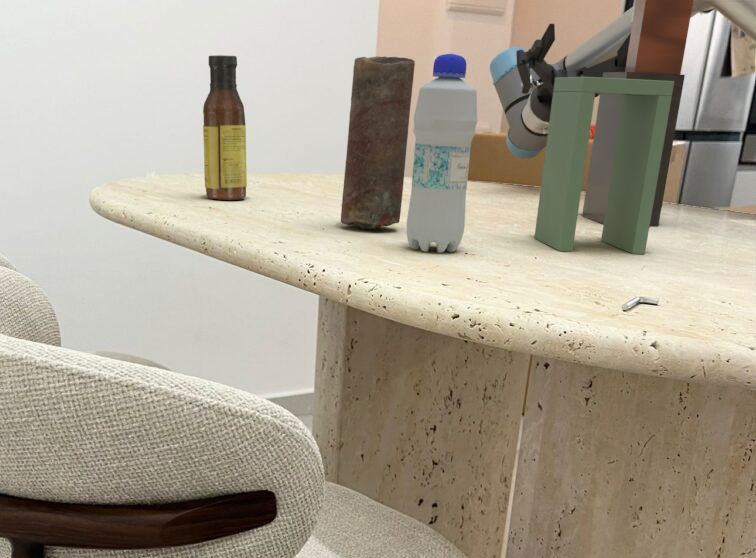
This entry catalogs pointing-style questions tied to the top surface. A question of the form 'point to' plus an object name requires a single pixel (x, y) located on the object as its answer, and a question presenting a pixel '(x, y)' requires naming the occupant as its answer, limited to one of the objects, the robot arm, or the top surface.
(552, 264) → the top surface
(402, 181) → the rusty brown cylinder
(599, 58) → the robot arm
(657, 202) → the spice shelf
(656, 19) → the brown box
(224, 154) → the sauce bottle
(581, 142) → the green arch
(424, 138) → the bottle
